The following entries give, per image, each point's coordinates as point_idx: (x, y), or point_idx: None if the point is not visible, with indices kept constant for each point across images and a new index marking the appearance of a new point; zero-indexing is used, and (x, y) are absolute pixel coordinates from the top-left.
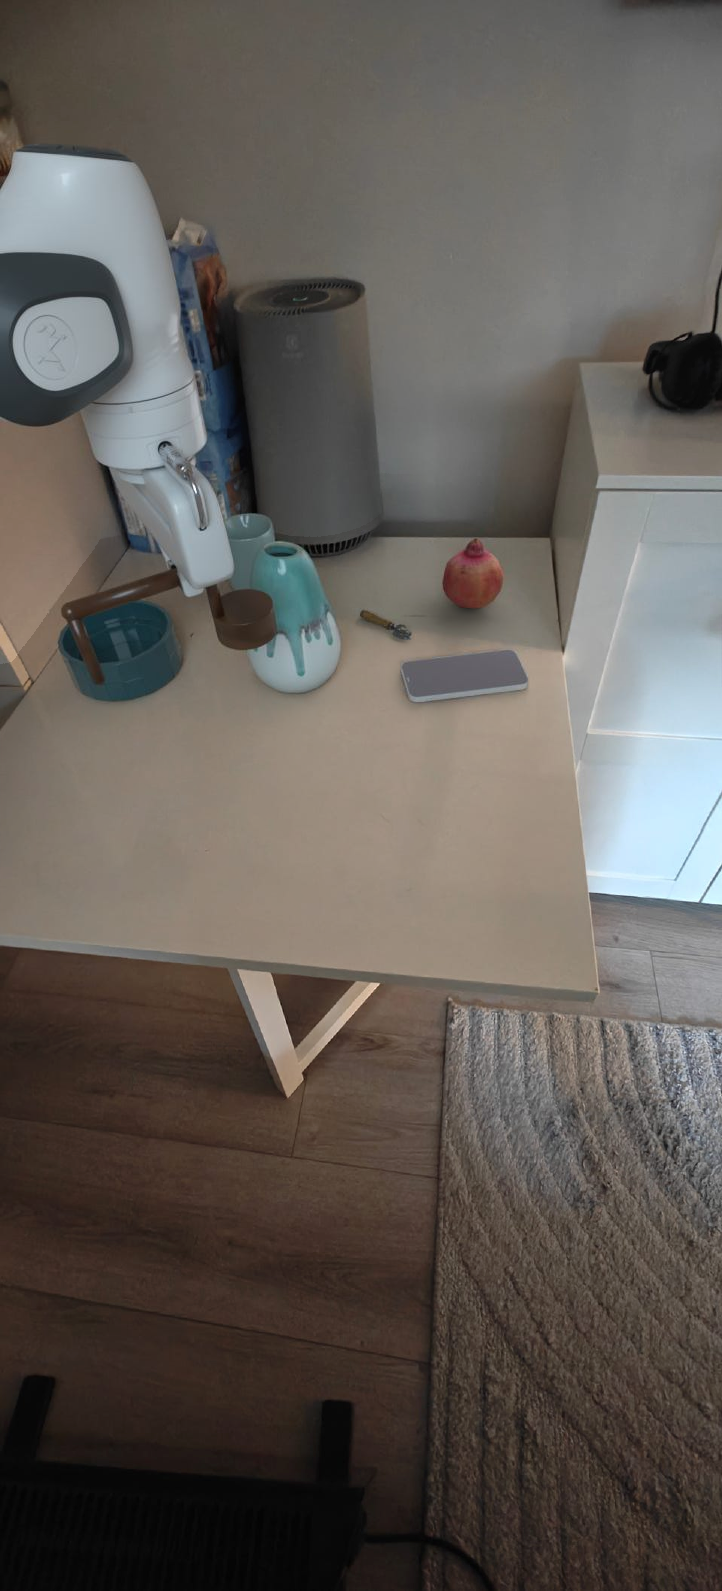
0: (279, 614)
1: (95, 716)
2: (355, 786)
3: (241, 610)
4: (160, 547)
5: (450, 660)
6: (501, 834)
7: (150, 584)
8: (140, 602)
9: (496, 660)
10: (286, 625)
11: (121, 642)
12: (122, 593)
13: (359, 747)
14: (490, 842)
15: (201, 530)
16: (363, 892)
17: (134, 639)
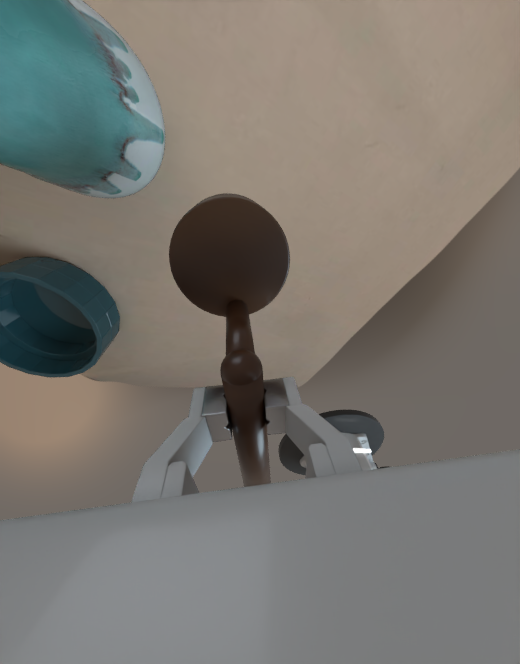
0: (101, 137)
1: (133, 341)
2: (320, 152)
3: (245, 271)
4: (194, 473)
5: None
6: (480, 10)
7: (265, 456)
8: None
9: None
10: (117, 132)
11: (15, 309)
12: (268, 481)
13: (272, 113)
14: (475, 36)
15: (344, 506)
16: (415, 207)
17: (10, 297)
